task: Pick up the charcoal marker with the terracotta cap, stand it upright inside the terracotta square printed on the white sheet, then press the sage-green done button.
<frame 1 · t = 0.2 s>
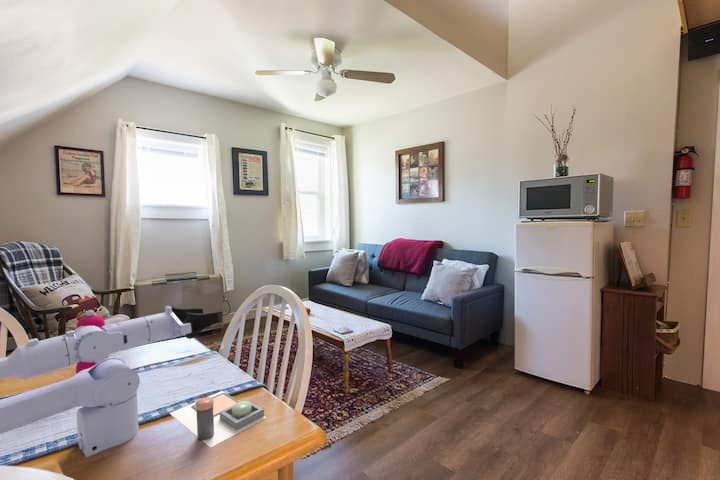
hand: (209, 314, 81), 21 cm above the table, tool horizontal, fingers open, 7 cm apart
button: (241, 409, 73), point 3 cm above the table, slide at 0.0 cm
board: (217, 419, 74), on the table
marker: (205, 435, 67), point 1 cm above the table, touching board
pepper mill: (94, 383, 92), on the table
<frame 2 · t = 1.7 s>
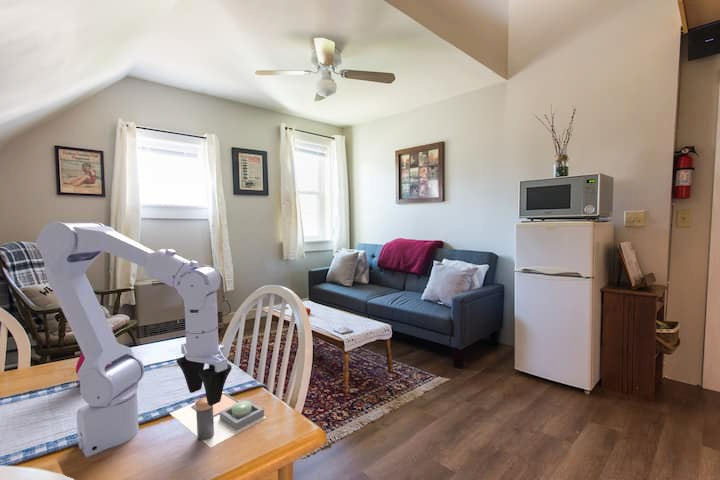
hand: (204, 396, 67), 9 cm above the table, tool pointing down, fingers open, 7 cm apart
nothing on the table moved.
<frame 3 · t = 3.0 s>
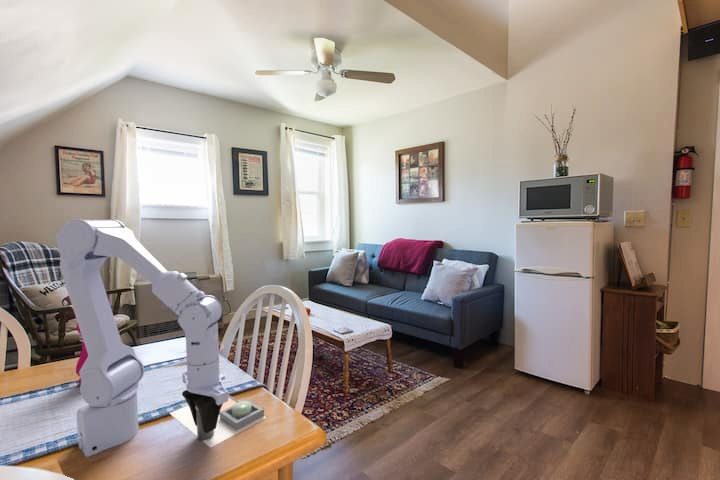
hand: (205, 426, 67), 3 cm above the table, tool pointing down, fingers closed on marker, 3 cm apart
marker: (205, 435, 67), point 1 cm above the table, touching board, gripper
everything else where it was.
when the fingers open (4 cm above the table, at t = 6.1 s): marker drops 1 cm, resting on board.
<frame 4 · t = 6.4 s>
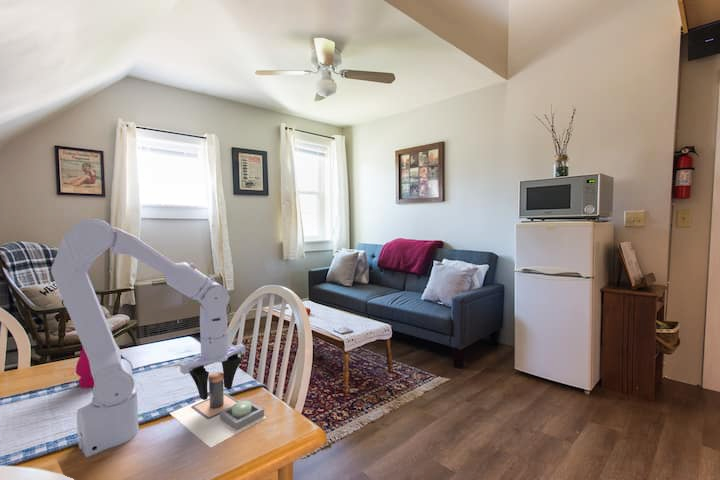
hand: (216, 392, 78), 4 cm above the table, tool pointing down, fingers open, 5 cm apart
marker: (216, 404, 78), point 1 cm above the table, touching board
everything else where it was.
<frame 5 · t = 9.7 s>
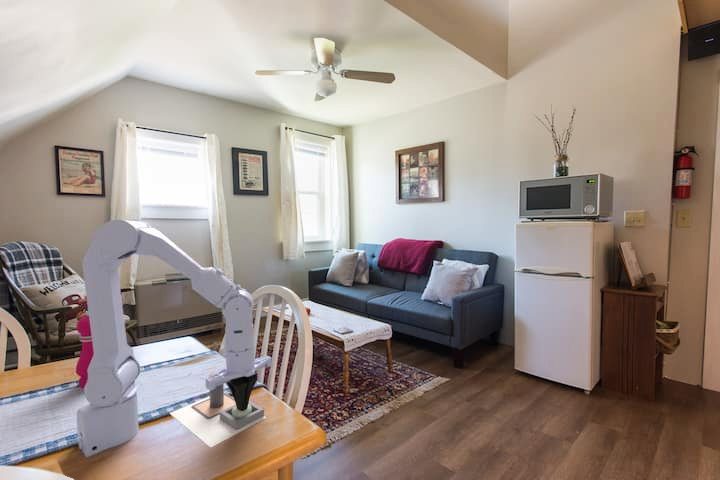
hand: (242, 408, 73), 3 cm above the table, tool pointing down, fingers closed, pressing on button
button: (241, 412, 73), point 2 cm above the table, slide at 0.6 cm, touching gripper
everything else where it was.
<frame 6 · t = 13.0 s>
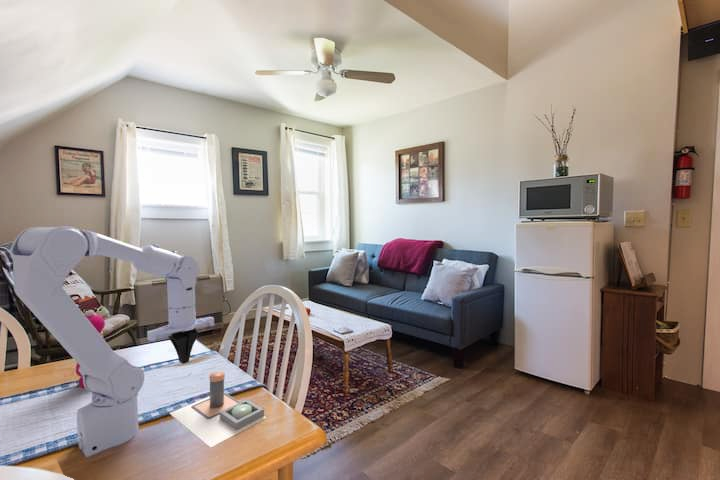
hand: (184, 361, 81), 10 cm above the table, tool pointing down, fingers closed
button: (242, 412, 73), point 2 cm above the table, slide at 0.7 cm
everything else where it was.
at the end: marker 0.1 cm from the target spot on the board, point 1.1 cm above the board's base; marker tilted 3°; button slide at 0.7 cm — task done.
